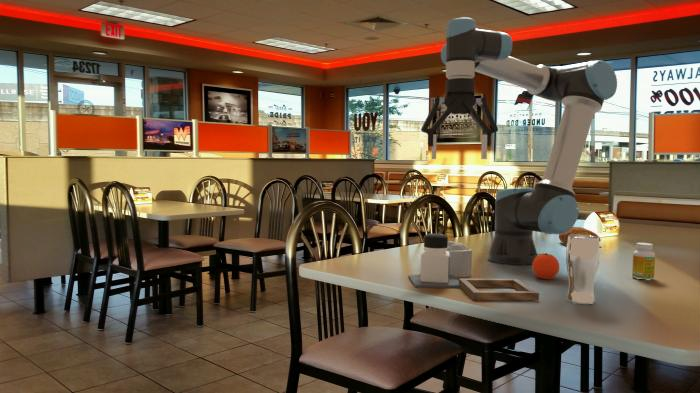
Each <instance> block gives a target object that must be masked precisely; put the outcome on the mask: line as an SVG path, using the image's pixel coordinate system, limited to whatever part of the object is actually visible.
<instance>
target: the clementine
mask: <svg viewBox="0 0 700 393" xmlns="http://www.w3.org/2000/svg"><path fill="white" fill-rule="evenodd" d="M531 265H532V266H531V267H532V270H533V273H534V274H535V276H537V277H538V278H540V279H543V280H551V279H553V278H555V277H556V276H557V275H558V274H559V271H560V263H559V260H558V259H557V258H556V256H554V255H553V254H550V253H547V252H543V253H542V252H541V253H537V255H536V257H535V259H534V261H533V264H531Z"/></svg>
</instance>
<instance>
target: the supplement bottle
mask: <svg viewBox="0 0 700 393" xmlns="http://www.w3.org/2000/svg"><path fill="white" fill-rule="evenodd" d="M653 245H654V244H653V243H648V242H636V246H635V247H636V250H635V251H633V254H632V270H631V271H632V272H631V277H632V278H633V277H635V278H641V279H653V278H654V279H655V265H656V264H655V263H656V254H655V252H654V251H652V250H653V249H654V248H653V247H654V246H653ZM654 279H653V280H654Z"/></svg>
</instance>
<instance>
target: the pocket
mask: <svg viewBox="0 0 700 393" xmlns="http://www.w3.org/2000/svg"><path fill="white" fill-rule="evenodd" d="M458 281H459V284H460V285H461V289H462V290H463V291H464V293H465V294H467V295H468V297H470V298H471V299H472V300H473V301H511V300H540V299H539V298H540V297H539V296H540V292H538V291H536V290H535V289H534V288H532V287H530V286H529V285H527V284H526V283H524V282H523V281H521V280H520V279H518V278H458ZM477 288H514V289H515V290H514V291H513V290H508V291H507V290H501V291H500V290H478V289H477ZM516 289H517V290H516Z"/></svg>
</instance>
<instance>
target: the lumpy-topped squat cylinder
mask: <svg viewBox="0 0 700 393" xmlns="http://www.w3.org/2000/svg"><path fill="white" fill-rule="evenodd" d="M447 251H449V253H450V257H449V275H453V276H454V277H455V278H465V277H466V278H467V277H471V276H472V267H473V266H472V262H473V261H472V260H473V250H472V249H471V248H469V247H467V246H466V245H465V244H463V243H460V242H456V241H452V240H449V241H448V248H447Z"/></svg>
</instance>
